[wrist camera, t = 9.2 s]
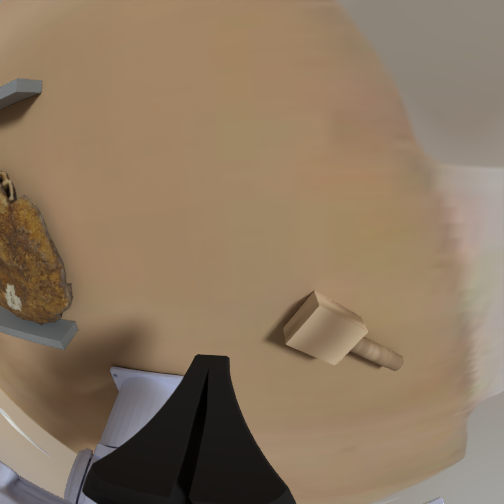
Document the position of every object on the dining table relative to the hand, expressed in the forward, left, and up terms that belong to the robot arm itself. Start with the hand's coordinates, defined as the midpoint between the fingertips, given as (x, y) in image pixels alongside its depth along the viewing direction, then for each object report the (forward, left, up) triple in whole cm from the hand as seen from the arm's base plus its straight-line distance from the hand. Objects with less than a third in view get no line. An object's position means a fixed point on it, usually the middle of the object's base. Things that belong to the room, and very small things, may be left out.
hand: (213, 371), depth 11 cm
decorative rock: (+2, +19, -10) cm, 22 cm away
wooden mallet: (-6, -10, -9) cm, 15 cm away
